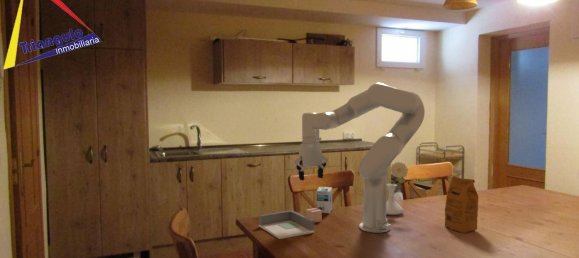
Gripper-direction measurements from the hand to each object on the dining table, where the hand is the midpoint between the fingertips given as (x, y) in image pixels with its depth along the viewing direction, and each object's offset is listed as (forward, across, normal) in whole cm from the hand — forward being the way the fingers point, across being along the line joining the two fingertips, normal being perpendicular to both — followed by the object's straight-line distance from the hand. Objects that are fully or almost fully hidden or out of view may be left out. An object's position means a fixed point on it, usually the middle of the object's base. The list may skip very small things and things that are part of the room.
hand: (311, 178), depth 180 cm
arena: (+19, +16, +6) cm, 25 cm away
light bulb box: (+19, -14, -12) cm, 27 cm away
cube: (+19, -1, +1) cm, 19 cm away
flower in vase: (+20, -40, +9) cm, 45 cm away
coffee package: (+20, -49, +40) cm, 66 cm away
